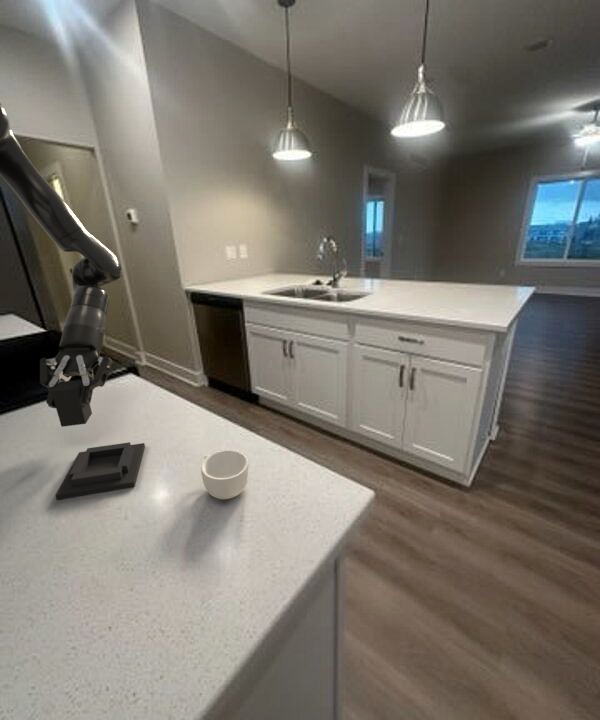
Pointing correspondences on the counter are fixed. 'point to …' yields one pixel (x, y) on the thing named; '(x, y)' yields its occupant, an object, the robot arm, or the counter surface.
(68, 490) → the base pad
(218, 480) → the teacup
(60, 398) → the dark grey rectangular block
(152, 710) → the counter surface
